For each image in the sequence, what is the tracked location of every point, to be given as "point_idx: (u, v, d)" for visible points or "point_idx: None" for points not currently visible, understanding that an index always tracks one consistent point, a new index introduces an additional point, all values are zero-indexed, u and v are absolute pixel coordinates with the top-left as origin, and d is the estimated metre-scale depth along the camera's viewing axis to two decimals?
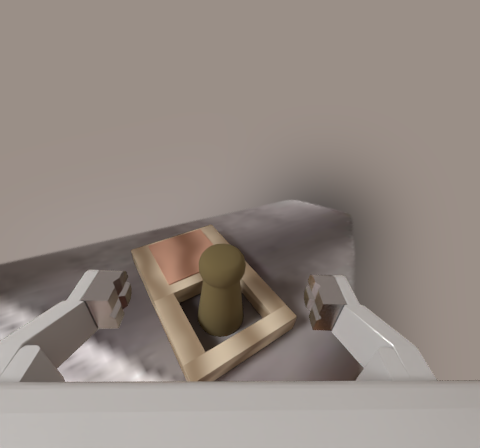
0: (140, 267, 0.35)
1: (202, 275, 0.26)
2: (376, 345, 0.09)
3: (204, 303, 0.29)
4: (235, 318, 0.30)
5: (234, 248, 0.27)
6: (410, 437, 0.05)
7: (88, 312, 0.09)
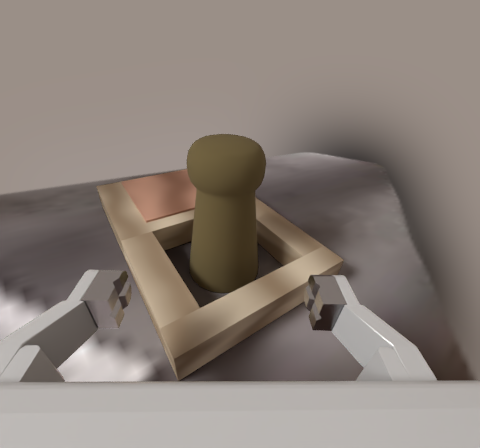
0: (106, 203, 0.24)
1: (193, 173, 0.15)
2: (376, 345, 0.09)
3: (198, 236, 0.18)
4: (248, 262, 0.19)
5: None
6: (410, 437, 0.05)
7: (88, 312, 0.09)
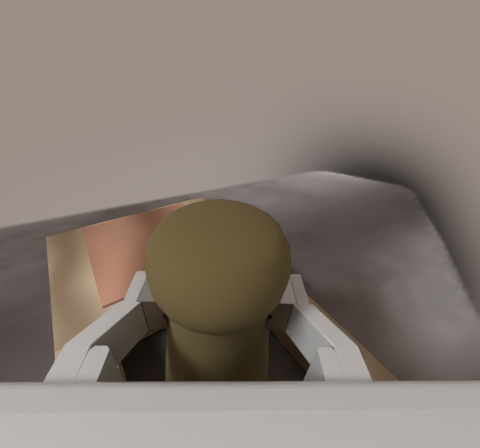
0: (51, 269, 0.17)
1: (153, 293, 0.08)
2: (321, 345, 0.08)
3: (172, 366, 0.11)
4: None
5: (255, 209, 0.09)
6: (410, 437, 0.05)
7: (143, 313, 0.09)
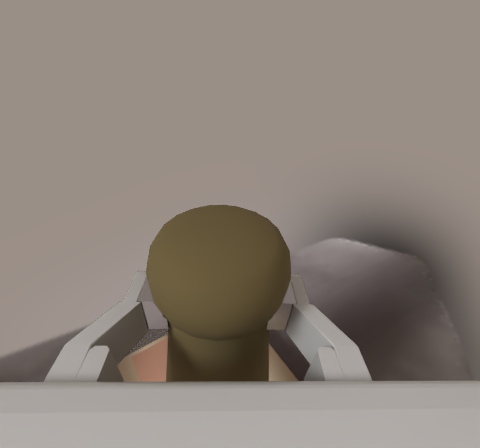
0: None
1: (155, 298, 0.08)
2: (321, 345, 0.08)
3: (173, 369, 0.11)
4: None
5: (255, 215, 0.09)
6: (410, 437, 0.05)
7: (143, 313, 0.09)
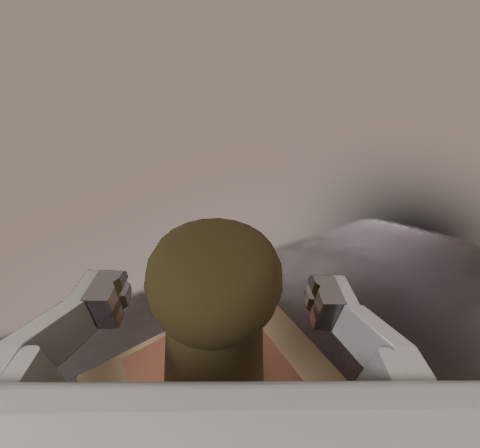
0: None
1: (152, 311, 0.08)
2: (376, 345, 0.09)
3: (170, 375, 0.11)
4: None
5: (249, 229, 0.10)
6: (410, 437, 0.05)
7: (88, 312, 0.09)
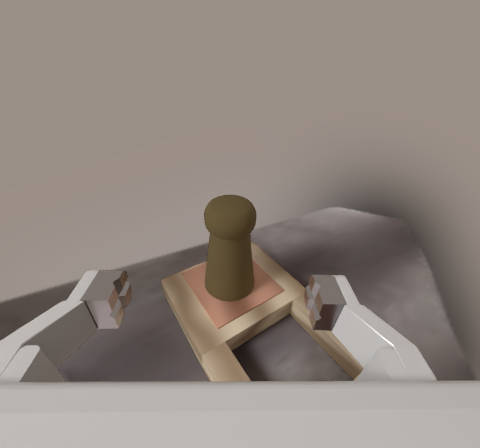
0: (176, 304, 0.27)
1: (208, 225, 0.23)
2: (377, 345, 0.09)
3: (211, 263, 0.26)
4: (246, 280, 0.27)
5: (243, 198, 0.25)
6: (410, 437, 0.05)
7: (88, 312, 0.09)
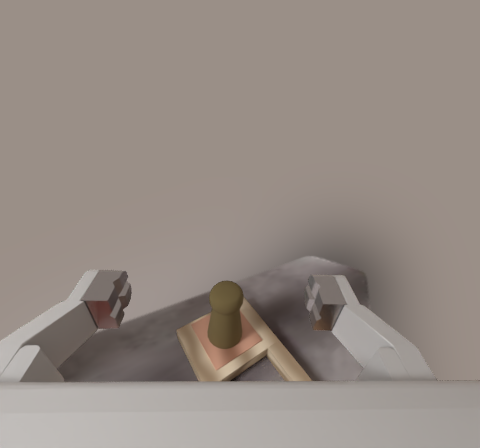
0: (188, 350, 0.40)
1: (212, 306, 0.36)
2: (377, 345, 0.09)
3: (213, 325, 0.39)
4: (236, 335, 0.40)
5: (235, 285, 0.37)
6: (410, 437, 0.05)
7: (88, 312, 0.09)
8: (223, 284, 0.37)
